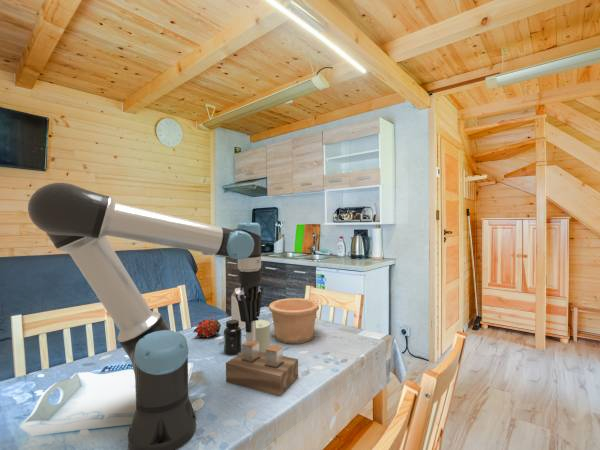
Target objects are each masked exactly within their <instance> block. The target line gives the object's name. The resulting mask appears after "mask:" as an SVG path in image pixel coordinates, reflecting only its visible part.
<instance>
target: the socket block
mask: <svg viewBox="0 0 600 450" xmlns="http://www.w3.org/2000/svg"><path fill="white" fill-rule="evenodd" d="M298 378H299V359H298V358H294V357H290V356H284V355H283V364H282V365H281V366H279V367H278V368H273V367H268V366H266V352H261V351H259V359H257V360H256V361H255V362H253V363H251V362H247V361H242V352H240V353H239V354H236V356H234V357H233V358H231V359H230V360H228V361H226V362H225V382H226V383H227V382H228V383H232V384H234V385H238V386H241V387H245V388H248V389H253V390H256V391H259V392H263V393H268V394H271V395H274V396H277V397H281V396H282V395H283V394H284V393H285V392H286V391H287V390H288V389H290V387H291V386H292V385H293V383H295V382H296V380H297V379H298Z"/></svg>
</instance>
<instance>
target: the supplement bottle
mask: <svg viewBox="0 0 600 450" xmlns="http://www.w3.org/2000/svg"><path fill="white" fill-rule="evenodd" d="M225 324H226V325H225V329H224V330H223V352H224V354H225V355H227V356H235V355H236V356H237V355H239V354H240V353H242V343H243V342H242V339H243V338H242V329H241V328H240V327H238V326H239V321H238V320H232V319H229V320H228V319H227V320H226V322H225Z"/></svg>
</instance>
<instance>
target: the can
mask: <svg viewBox="0 0 600 450" xmlns="http://www.w3.org/2000/svg"><path fill="white" fill-rule="evenodd" d="M270 332H271V322H269V321H268V320H264V319H258V321H257V320H256V328H255V334H256V341H255V342H259V351H261V352H266V350H265V349H267V348H268V347H270V346H271V335H270V334H271V333H270Z"/></svg>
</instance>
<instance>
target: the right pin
mask: <svg viewBox="0 0 600 450" xmlns="http://www.w3.org/2000/svg"><path fill="white" fill-rule="evenodd" d="M265 350H266V366H268V367H273V368H278V367H279V366H281V365H282V364H283V356H284V347H283V346H281V345H275V344H270V347H268V348H267V349H265Z"/></svg>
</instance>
